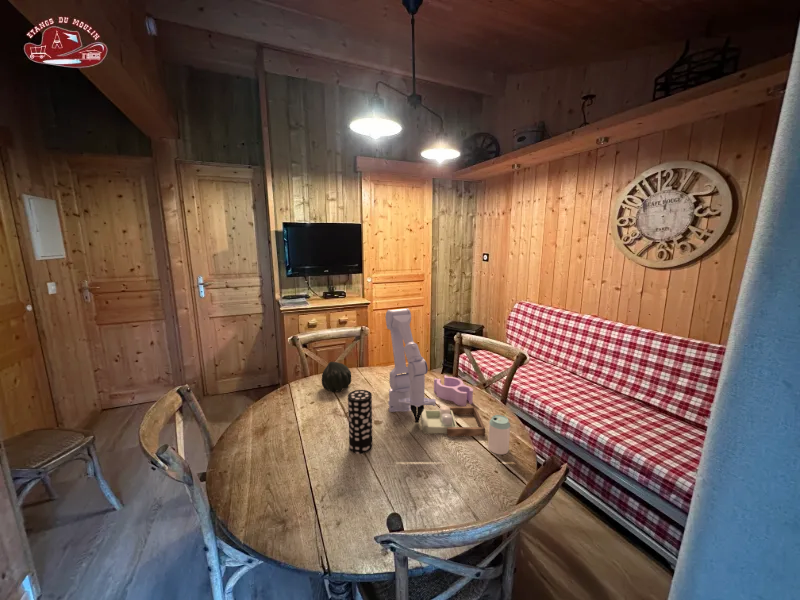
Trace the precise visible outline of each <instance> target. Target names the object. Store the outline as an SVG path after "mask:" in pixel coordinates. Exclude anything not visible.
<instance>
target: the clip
mask: <svg viewBox="0 0 800 600" xmlns="http://www.w3.org/2000/svg"><path fill="white" fill-rule="evenodd" d="M443 378H444V379H443V384H442V381H441V380H442V379H440V378H434V379H433V393H436V397H437V398H439V399H441V400H445V401H451V402H453V403H454V404H456V405H457V406H459V407H467V403H468V404H470V405H473V401H474V398H473V397H474V389H473V387H471V386H469V385H466V384H464V382H463V380H462V379H461V378H458V377H455V376H448V375H445V374H444V376H443ZM467 401H468V402H467Z"/></svg>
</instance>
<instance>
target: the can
mask: <svg viewBox="0 0 800 600" xmlns="http://www.w3.org/2000/svg"><path fill="white" fill-rule="evenodd" d="M510 432H511V423H510V422H509V419H508V417H507V416H505V415H502V414H495V415H493V416H491V419H490V420H489V424H488V440H487V441H488V442H487V443H488V444H487V449H488V450H489V451H490V452H492V453H493V454H495V455H505V454H508V453H509V448H510V436H511V433H510Z"/></svg>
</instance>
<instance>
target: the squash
mask: <svg viewBox="0 0 800 600" xmlns="http://www.w3.org/2000/svg"><path fill="white" fill-rule="evenodd" d="M351 383H352V372H351V370H350V368H349V367H348V366H347V365H346V364H344V363H340V362H337V361H329V362H328V364H327V365H326V367H325V368H324V370H323V371H322V374H321V385H322V387H323V389H325V390H327V391H329V392H331V393H336V392H337V393H341V392H342V391H343V390H346V389H348V387H349V386H350V385H351Z"/></svg>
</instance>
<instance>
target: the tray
mask: <svg viewBox="0 0 800 600" xmlns="http://www.w3.org/2000/svg"><path fill="white" fill-rule="evenodd" d="M450 414H451V415H452V416H453V418H452V426H441V421H440V409H426V408H424V410H423V412H422V414H421V416H420V419H421V425H422V434H447V427H458V426H457V425H458V424H457V422H456V417H455V414H453V412H452V410H450Z"/></svg>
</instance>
